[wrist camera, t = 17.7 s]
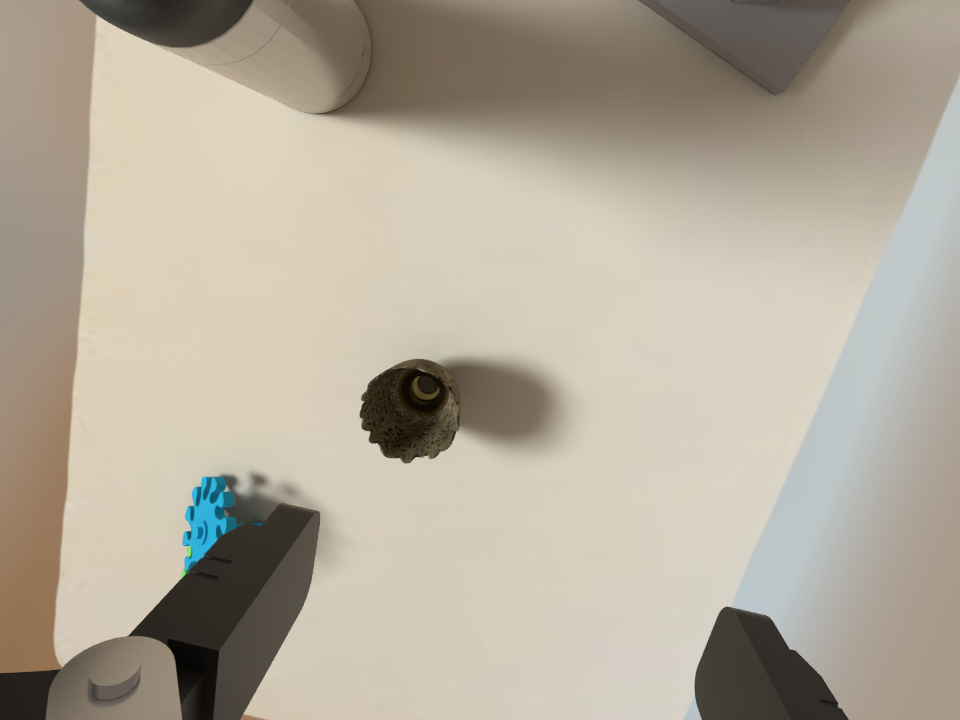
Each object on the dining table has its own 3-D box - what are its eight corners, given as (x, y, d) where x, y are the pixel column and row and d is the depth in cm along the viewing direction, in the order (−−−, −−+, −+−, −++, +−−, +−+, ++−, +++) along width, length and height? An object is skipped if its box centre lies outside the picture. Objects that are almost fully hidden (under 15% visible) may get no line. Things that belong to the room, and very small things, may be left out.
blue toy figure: (205, 451, 49) (227, 546, 43) (269, 453, 53) (297, 539, 47) (166, 529, 54) (181, 625, 48) (228, 525, 58) (249, 612, 52)
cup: (461, 336, 46) (448, 360, 39) (477, 417, 48) (468, 456, 40) (377, 350, 47) (348, 376, 39) (395, 429, 49) (371, 469, 41)
